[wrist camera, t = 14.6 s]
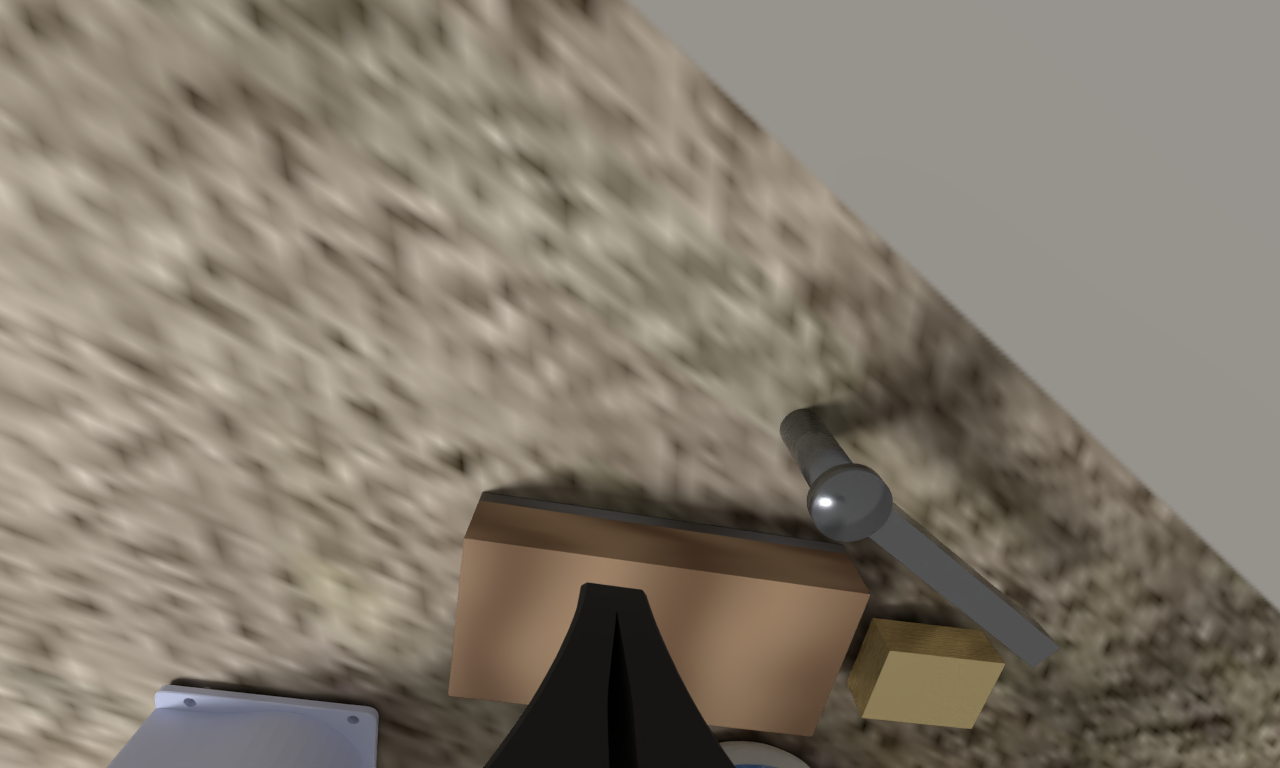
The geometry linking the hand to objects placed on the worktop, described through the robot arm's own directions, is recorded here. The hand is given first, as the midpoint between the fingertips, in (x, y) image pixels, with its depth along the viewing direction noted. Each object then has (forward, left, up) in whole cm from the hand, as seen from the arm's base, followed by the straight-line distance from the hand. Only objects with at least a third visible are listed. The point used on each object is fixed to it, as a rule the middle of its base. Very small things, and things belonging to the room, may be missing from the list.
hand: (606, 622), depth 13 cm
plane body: (+3, -8, -10) cm, 13 cm away
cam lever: (+11, -2, -10) cm, 16 cm away
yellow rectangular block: (+15, -9, -8) cm, 19 cm away
